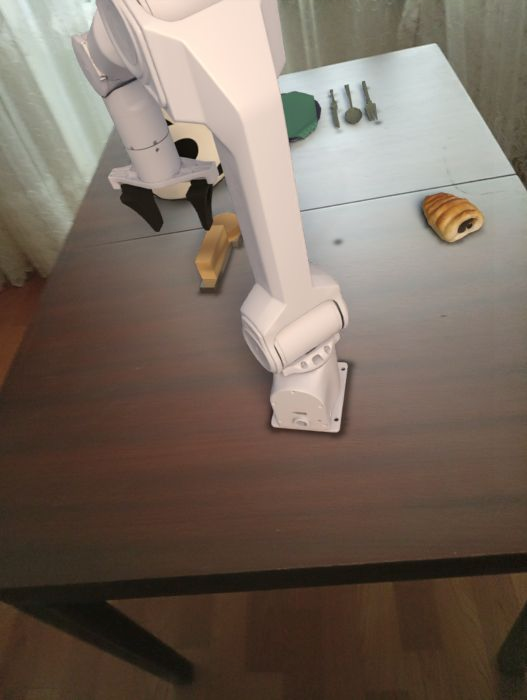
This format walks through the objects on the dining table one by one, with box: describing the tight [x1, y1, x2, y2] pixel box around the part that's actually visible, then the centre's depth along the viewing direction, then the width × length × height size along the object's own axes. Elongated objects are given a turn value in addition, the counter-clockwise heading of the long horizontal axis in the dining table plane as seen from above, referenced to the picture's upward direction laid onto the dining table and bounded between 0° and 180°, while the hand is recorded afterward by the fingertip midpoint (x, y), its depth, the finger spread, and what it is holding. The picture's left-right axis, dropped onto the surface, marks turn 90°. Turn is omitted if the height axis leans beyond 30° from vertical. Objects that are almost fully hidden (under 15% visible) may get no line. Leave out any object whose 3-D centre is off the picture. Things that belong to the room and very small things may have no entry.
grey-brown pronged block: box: [199, 234, 243, 294], centre depth 79 cm, size 17×5×1 cm, turn 168°
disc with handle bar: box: [194, 212, 241, 280], centre depth 77 cm, size 13×5×4 cm, turn 168°
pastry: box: [421, 191, 485, 243], centre depth 72 cm, size 9×7×4 cm
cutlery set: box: [281, 80, 379, 143], centre depth 98 cm, size 20×30×2 cm, turn 90°
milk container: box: [152, 107, 225, 201], centre depth 87 cm, size 17×17×18 cm
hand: (184, 226), depth 70 cm, fingers open, 7 cm apart
